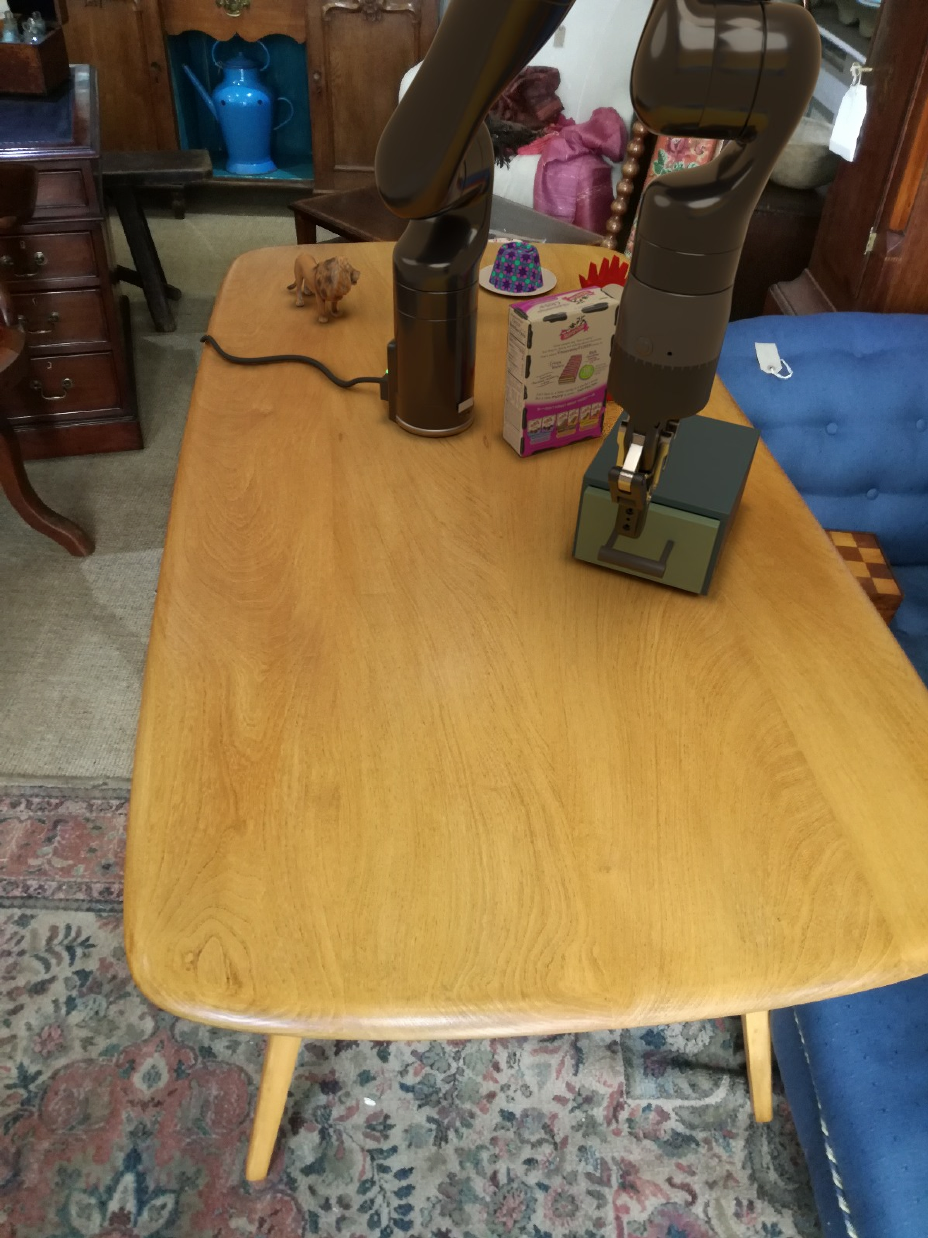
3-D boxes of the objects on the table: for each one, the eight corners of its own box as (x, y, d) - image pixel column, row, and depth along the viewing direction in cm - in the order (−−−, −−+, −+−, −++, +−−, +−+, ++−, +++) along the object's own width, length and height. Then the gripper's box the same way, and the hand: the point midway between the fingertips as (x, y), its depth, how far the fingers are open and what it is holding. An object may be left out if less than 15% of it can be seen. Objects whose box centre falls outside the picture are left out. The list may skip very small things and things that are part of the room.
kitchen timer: (520, 361, 122) (529, 246, 111) (605, 339, 127) (621, 227, 117) (583, 411, 113) (599, 291, 103) (671, 384, 118) (695, 268, 108)
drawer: (687, 626, 84) (705, 560, 79) (557, 587, 88) (566, 521, 82) (731, 511, 97) (749, 447, 92) (617, 481, 101) (627, 417, 95)
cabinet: (706, 595, 89) (729, 514, 82) (571, 556, 92) (583, 475, 86) (739, 507, 99) (761, 429, 93) (616, 475, 103) (629, 398, 96)
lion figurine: (367, 321, 129) (364, 256, 122) (337, 333, 126) (333, 267, 120) (301, 287, 136) (296, 224, 130) (271, 297, 133) (264, 233, 127)
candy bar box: (579, 416, 112) (597, 283, 101) (602, 437, 109) (623, 301, 98) (498, 437, 108) (507, 301, 97) (520, 459, 105) (531, 320, 94)
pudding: (568, 277, 142) (572, 242, 138) (537, 307, 134) (540, 271, 130) (496, 261, 145) (498, 226, 142) (462, 289, 137) (463, 253, 134)
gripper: (699, 391, 60) (651, 592, 72) (740, 310, 69) (691, 501, 81) (588, 364, 62) (559, 564, 74) (642, 289, 71) (609, 478, 83)
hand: (628, 531), depth 77 cm, fingers closed
